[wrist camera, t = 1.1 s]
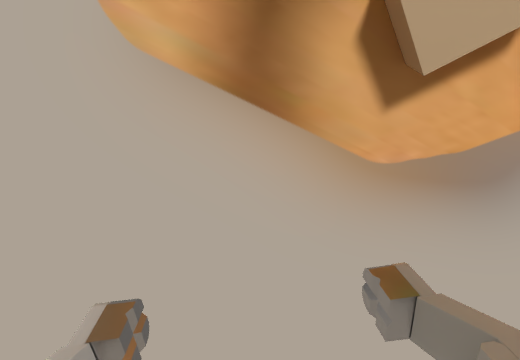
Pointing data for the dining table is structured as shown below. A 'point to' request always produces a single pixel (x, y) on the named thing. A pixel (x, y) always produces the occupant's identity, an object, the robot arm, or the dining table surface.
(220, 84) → the dining table surface
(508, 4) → the sleeve
